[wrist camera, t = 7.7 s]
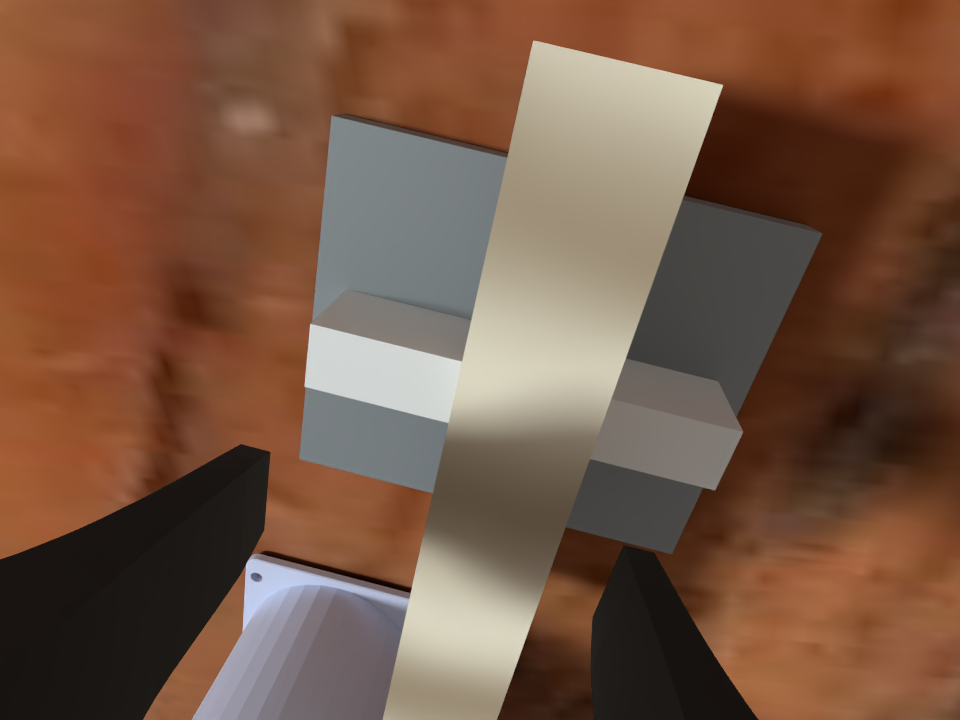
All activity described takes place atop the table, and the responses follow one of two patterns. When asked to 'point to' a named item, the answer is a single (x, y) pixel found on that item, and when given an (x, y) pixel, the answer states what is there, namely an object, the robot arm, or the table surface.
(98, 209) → the table surface
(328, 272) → the grey stepped base
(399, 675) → the birch beam
